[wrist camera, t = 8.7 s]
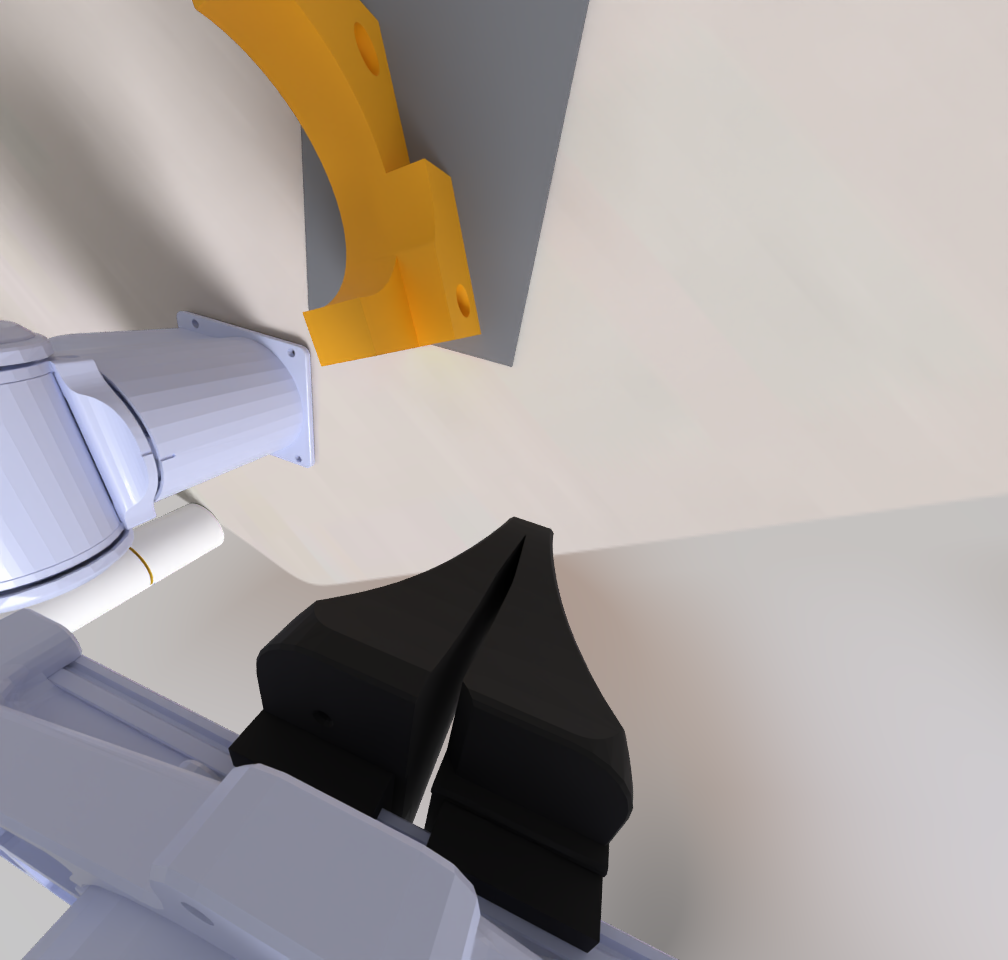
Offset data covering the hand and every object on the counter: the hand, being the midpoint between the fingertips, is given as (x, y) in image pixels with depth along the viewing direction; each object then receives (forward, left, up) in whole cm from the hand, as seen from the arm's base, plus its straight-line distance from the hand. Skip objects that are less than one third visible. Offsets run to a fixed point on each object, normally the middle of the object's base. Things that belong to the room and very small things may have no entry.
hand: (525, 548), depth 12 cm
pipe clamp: (-10, +9, -9) cm, 17 cm away
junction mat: (-10, +11, -9) cm, 18 cm away
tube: (-28, -17, -10) cm, 34 cm away
